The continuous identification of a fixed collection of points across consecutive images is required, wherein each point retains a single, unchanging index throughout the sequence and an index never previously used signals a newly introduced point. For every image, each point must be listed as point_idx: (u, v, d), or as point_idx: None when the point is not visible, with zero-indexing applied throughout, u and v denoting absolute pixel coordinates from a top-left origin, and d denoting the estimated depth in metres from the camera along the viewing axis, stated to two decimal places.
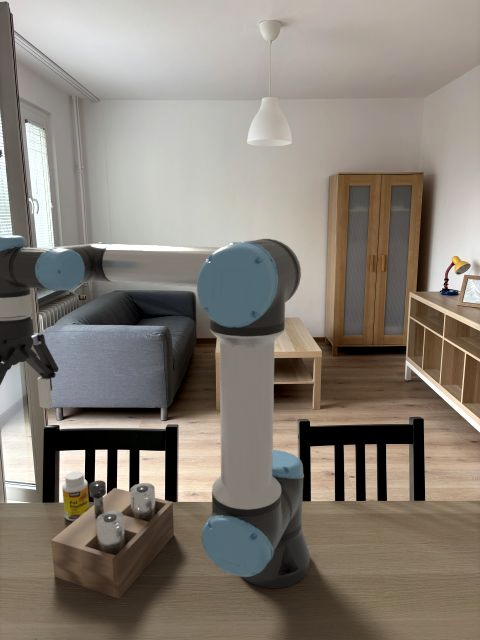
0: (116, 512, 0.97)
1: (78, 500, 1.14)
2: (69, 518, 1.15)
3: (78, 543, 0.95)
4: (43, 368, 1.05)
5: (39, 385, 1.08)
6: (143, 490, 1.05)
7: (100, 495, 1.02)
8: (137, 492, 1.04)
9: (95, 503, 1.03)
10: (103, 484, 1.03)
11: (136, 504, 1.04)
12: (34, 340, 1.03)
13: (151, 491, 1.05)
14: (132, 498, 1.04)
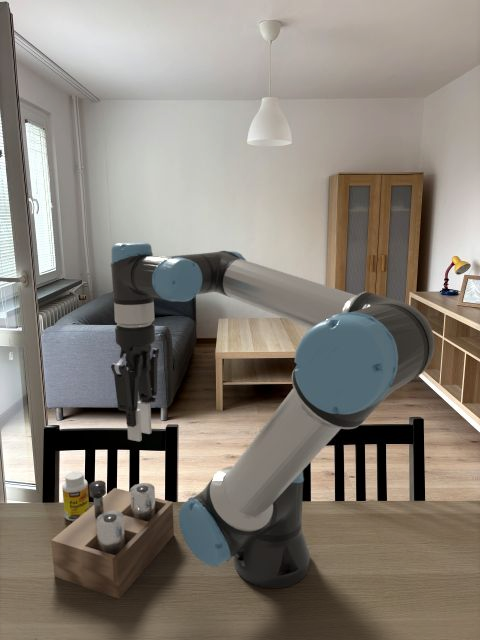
0: (116, 512, 0.97)
1: (78, 500, 1.14)
2: (69, 518, 1.15)
3: (78, 543, 0.95)
4: (148, 386, 1.02)
5: None
6: (143, 490, 1.05)
7: (100, 495, 1.02)
8: (137, 492, 1.04)
9: (95, 503, 1.03)
10: (103, 484, 1.03)
11: (136, 504, 1.04)
12: (150, 351, 1.03)
13: (151, 491, 1.05)
14: (132, 498, 1.04)
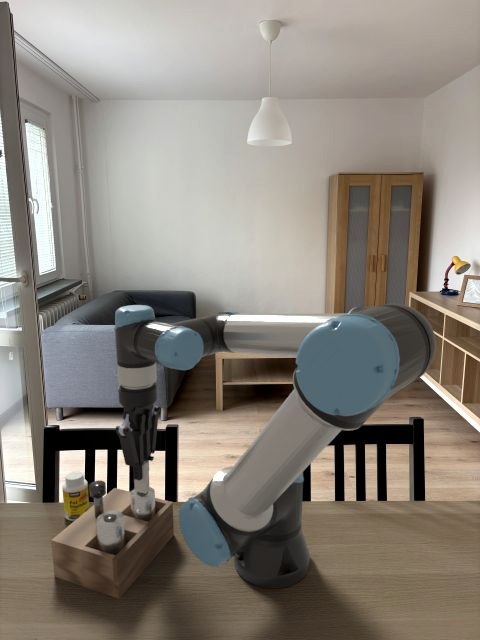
0: (116, 512, 0.97)
1: (78, 500, 1.14)
2: (69, 518, 1.15)
3: (78, 543, 0.95)
4: (148, 445, 1.04)
5: None
6: (143, 493, 1.05)
7: (100, 495, 1.02)
8: (137, 495, 1.04)
9: (95, 503, 1.03)
10: (103, 484, 1.03)
11: (137, 507, 1.04)
12: (152, 409, 1.06)
13: (151, 495, 1.05)
14: (132, 501, 1.04)
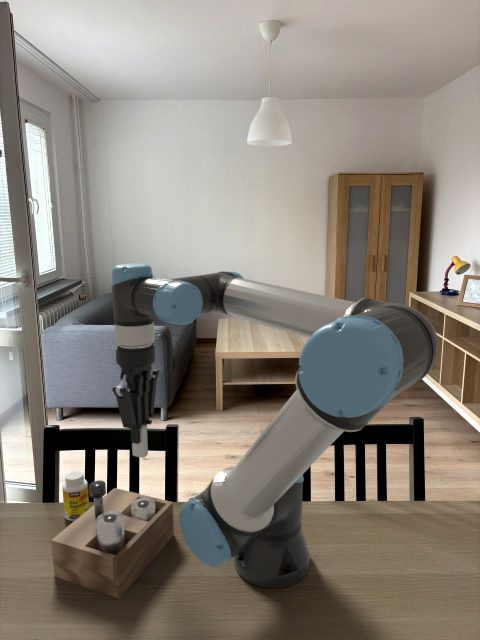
0: (116, 512, 0.97)
1: (78, 500, 1.14)
2: (69, 518, 1.15)
3: (78, 543, 0.95)
4: (146, 408, 1.02)
5: None
6: (144, 505, 1.05)
7: (100, 495, 1.02)
8: (138, 507, 1.05)
9: (95, 503, 1.03)
10: (103, 484, 1.03)
11: None
12: (150, 372, 1.04)
13: (151, 506, 1.05)
14: (133, 513, 1.05)
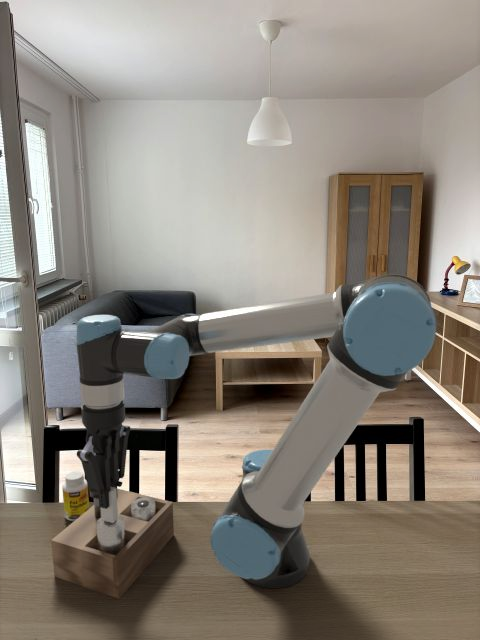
0: None
1: (78, 500, 1.14)
2: (69, 518, 1.15)
3: (78, 543, 0.95)
4: (115, 469, 0.94)
5: None
6: (144, 505, 1.05)
7: None
8: (138, 507, 1.05)
9: (95, 503, 1.03)
10: None
11: None
12: (121, 429, 0.96)
13: (151, 506, 1.05)
14: (133, 513, 1.05)
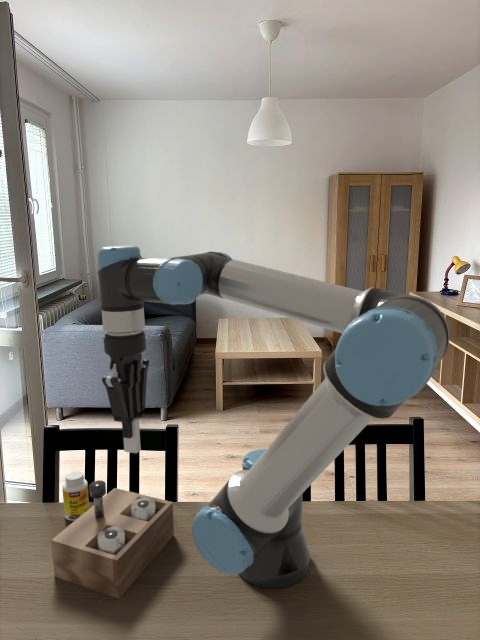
0: (117, 528, 0.98)
1: (78, 500, 1.14)
2: (69, 518, 1.15)
3: (78, 543, 0.95)
4: (137, 399, 0.96)
5: None
6: (144, 505, 1.05)
7: (100, 495, 1.02)
8: (138, 507, 1.05)
9: (95, 503, 1.03)
10: (103, 484, 1.03)
11: None
12: (140, 361, 0.98)
13: (151, 506, 1.05)
14: (133, 513, 1.05)
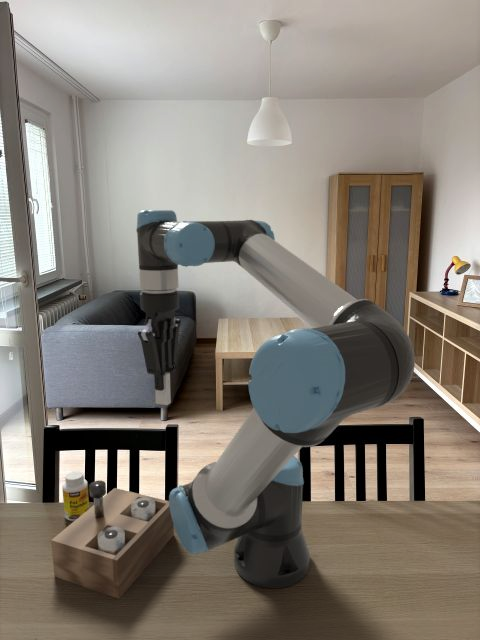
0: (117, 528, 0.98)
1: (78, 500, 1.14)
2: (69, 518, 1.15)
3: (78, 543, 0.95)
4: (169, 355, 1.03)
5: None
6: (144, 505, 1.05)
7: (100, 495, 1.02)
8: (138, 507, 1.05)
9: (95, 503, 1.03)
10: (103, 484, 1.03)
11: None
12: None
13: (151, 506, 1.05)
14: (133, 513, 1.05)
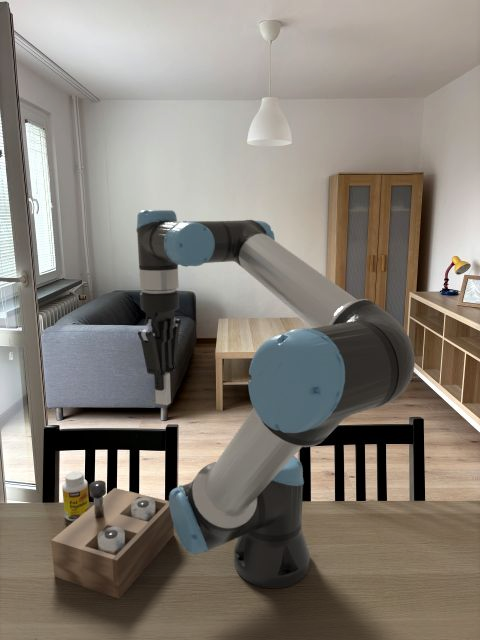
0: (117, 528, 0.98)
1: (78, 500, 1.14)
2: (69, 518, 1.15)
3: (78, 543, 0.95)
4: (169, 355, 1.03)
5: None
6: (144, 505, 1.05)
7: (100, 495, 1.02)
8: (138, 507, 1.05)
9: (95, 503, 1.03)
10: (103, 484, 1.03)
11: None
12: None
13: (151, 506, 1.05)
14: (133, 513, 1.05)
